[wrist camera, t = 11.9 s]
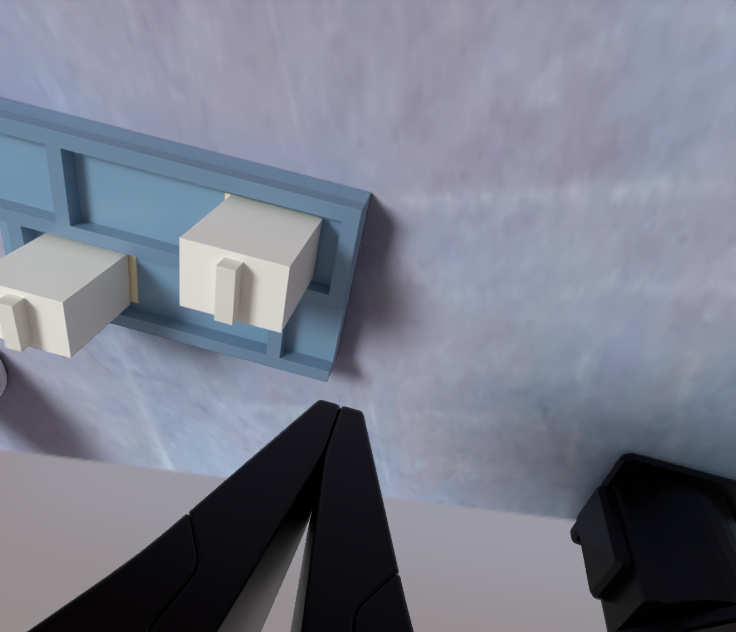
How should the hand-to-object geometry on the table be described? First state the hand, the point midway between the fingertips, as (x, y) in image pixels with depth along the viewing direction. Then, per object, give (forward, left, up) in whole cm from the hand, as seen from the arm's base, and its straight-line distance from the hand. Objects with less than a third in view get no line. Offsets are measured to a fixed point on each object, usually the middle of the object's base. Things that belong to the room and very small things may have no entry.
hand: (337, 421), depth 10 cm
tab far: (+12, +6, -11) cm, 17 cm away
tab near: (+5, +2, -11) cm, 12 cm away
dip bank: (+9, +4, -12) cm, 16 cm away
